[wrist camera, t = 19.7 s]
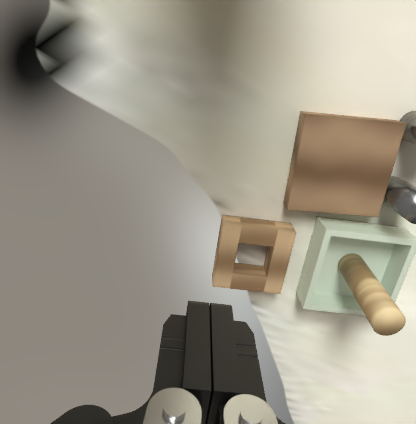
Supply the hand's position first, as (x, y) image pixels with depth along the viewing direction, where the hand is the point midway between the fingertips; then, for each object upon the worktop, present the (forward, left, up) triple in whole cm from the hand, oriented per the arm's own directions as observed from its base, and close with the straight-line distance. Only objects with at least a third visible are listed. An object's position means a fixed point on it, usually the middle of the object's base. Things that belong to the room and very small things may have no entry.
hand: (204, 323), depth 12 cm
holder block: (+11, +7, -27) cm, 30 cm away
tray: (+11, +19, -27) cm, 35 cm away
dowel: (+11, +19, -26) cm, 34 cm away
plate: (-1, +14, -28) cm, 31 cm away
